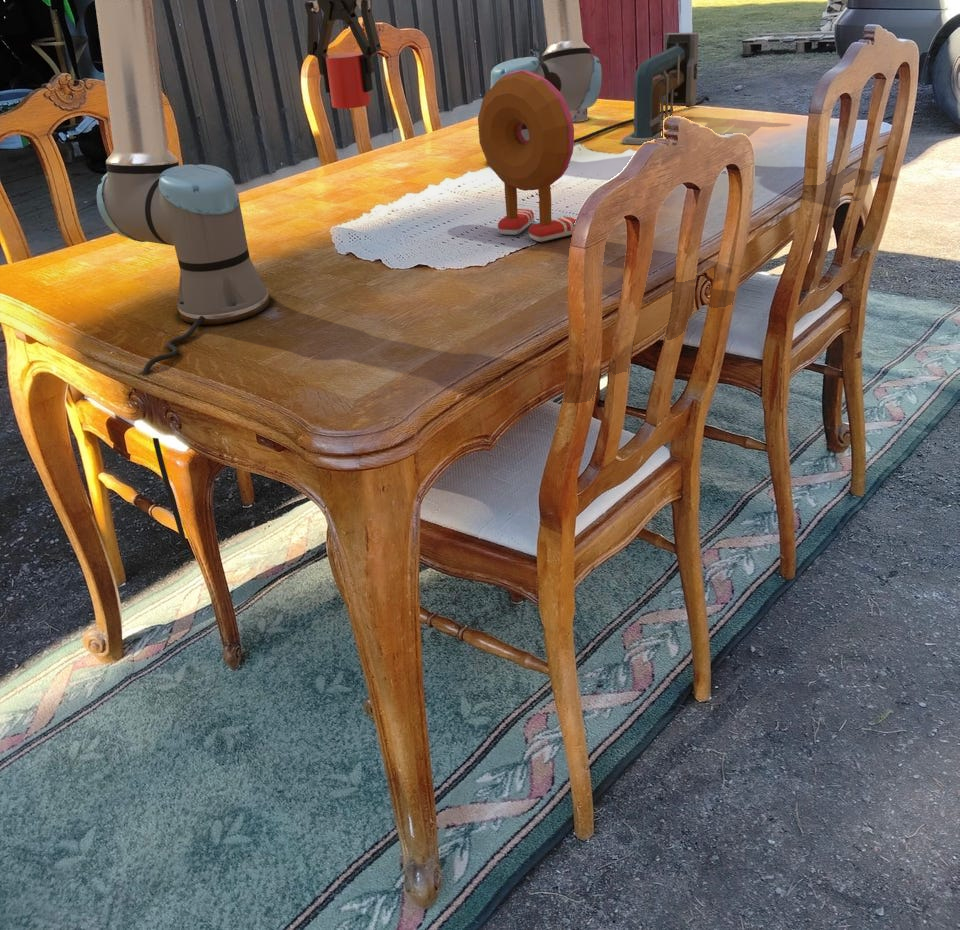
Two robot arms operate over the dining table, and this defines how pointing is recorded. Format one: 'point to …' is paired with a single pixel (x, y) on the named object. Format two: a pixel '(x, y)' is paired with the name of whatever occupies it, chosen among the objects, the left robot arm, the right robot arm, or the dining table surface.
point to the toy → (528, 147)
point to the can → (346, 80)
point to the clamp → (664, 85)
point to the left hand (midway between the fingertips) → (349, 90)
